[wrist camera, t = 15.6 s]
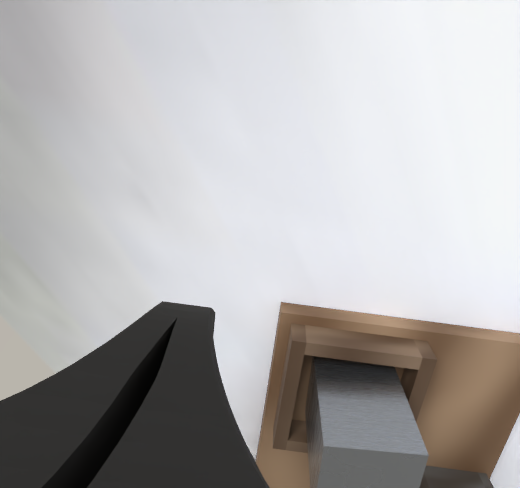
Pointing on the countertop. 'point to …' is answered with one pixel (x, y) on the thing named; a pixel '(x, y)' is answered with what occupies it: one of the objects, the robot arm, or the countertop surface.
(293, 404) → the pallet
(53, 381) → the robot arm
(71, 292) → the countertop surface
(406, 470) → the block
